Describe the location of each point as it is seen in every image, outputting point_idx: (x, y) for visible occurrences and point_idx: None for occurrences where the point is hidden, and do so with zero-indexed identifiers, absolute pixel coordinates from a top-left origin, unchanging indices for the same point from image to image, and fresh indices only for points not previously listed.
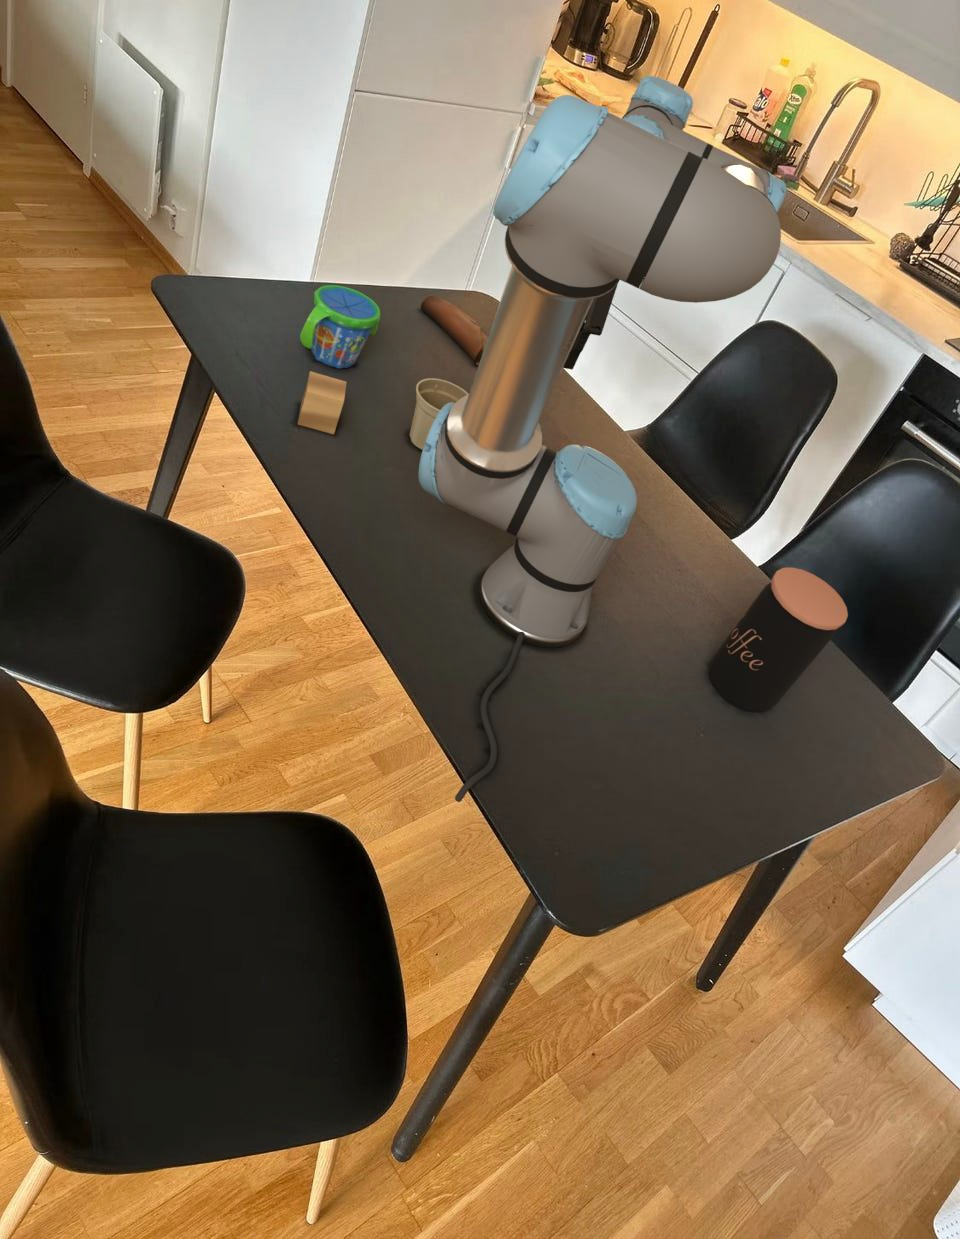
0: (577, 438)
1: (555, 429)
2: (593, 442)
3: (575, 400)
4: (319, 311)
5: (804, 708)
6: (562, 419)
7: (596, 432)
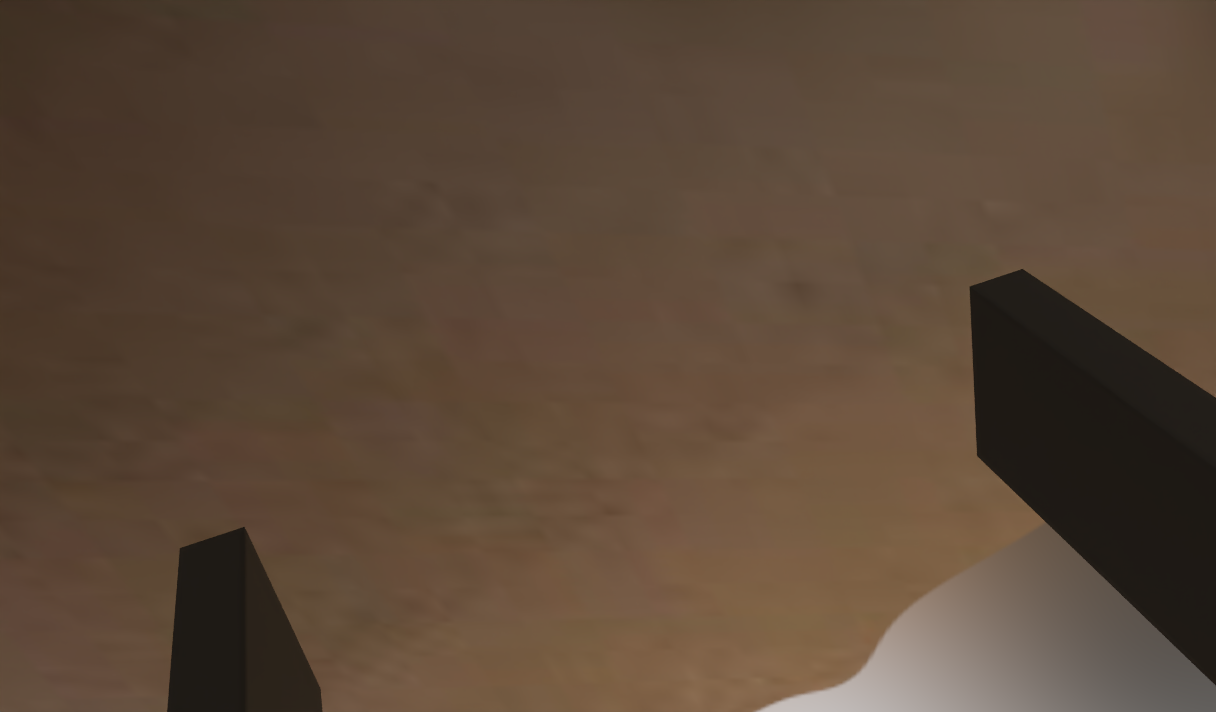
0: (746, 485)
1: (781, 381)
2: (743, 555)
3: None
4: None
5: None
6: (882, 416)
7: (831, 567)
